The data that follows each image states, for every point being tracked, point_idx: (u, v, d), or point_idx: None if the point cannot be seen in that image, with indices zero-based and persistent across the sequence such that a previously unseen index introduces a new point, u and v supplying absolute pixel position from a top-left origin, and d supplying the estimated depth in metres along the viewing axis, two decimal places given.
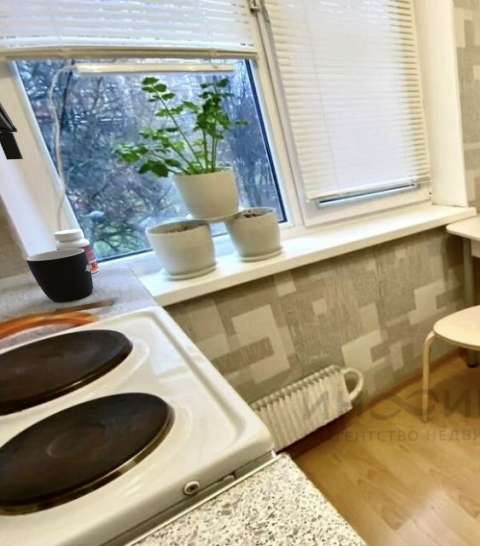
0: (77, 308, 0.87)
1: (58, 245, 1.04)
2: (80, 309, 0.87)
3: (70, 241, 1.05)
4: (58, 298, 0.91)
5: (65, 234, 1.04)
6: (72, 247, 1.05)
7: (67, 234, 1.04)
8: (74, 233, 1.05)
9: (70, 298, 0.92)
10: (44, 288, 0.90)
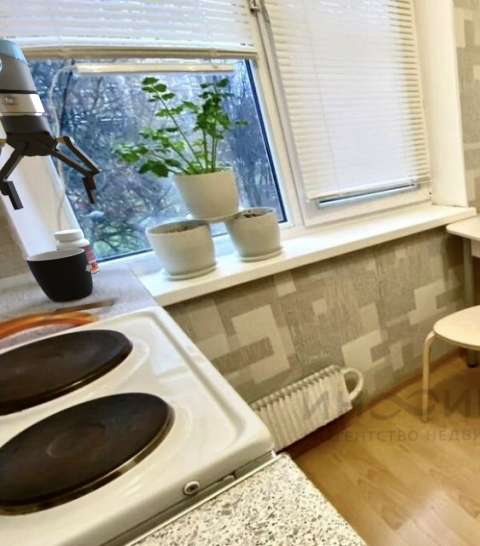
0: (77, 308, 0.87)
1: (58, 245, 1.04)
2: (80, 309, 0.87)
3: (70, 241, 1.05)
4: (58, 298, 0.91)
5: (65, 234, 1.04)
6: (72, 247, 1.05)
7: (67, 234, 1.04)
8: (74, 233, 1.05)
9: (70, 298, 0.92)
10: (44, 288, 0.90)
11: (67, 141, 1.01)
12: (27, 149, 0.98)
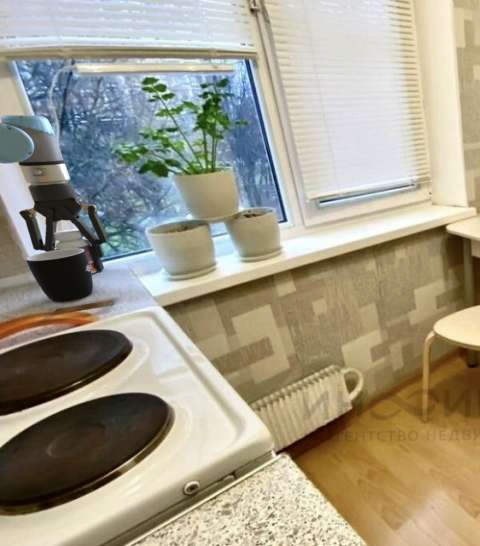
0: (77, 308, 0.87)
1: (58, 245, 1.04)
2: (80, 309, 0.87)
3: (70, 241, 1.05)
4: (58, 298, 0.91)
5: (65, 234, 1.04)
6: (72, 247, 1.05)
7: (67, 234, 1.04)
8: (74, 233, 1.05)
9: (70, 298, 0.92)
10: (44, 288, 0.90)
11: (91, 210, 1.06)
12: (53, 214, 1.03)
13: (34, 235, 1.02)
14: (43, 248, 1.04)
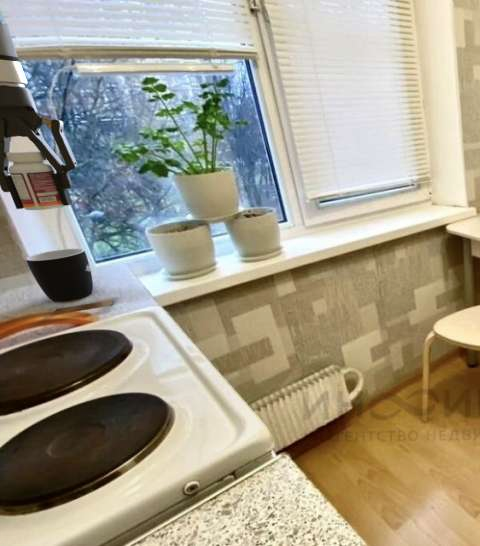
0: (77, 308, 0.87)
1: (12, 168, 0.82)
2: (80, 309, 0.87)
3: (28, 163, 0.83)
4: (58, 298, 0.91)
5: (21, 154, 0.82)
6: (30, 171, 0.83)
7: (23, 154, 0.82)
8: (33, 153, 0.83)
9: (70, 298, 0.92)
10: (44, 288, 0.90)
11: (54, 125, 0.84)
12: (5, 128, 0.81)
13: None
14: None
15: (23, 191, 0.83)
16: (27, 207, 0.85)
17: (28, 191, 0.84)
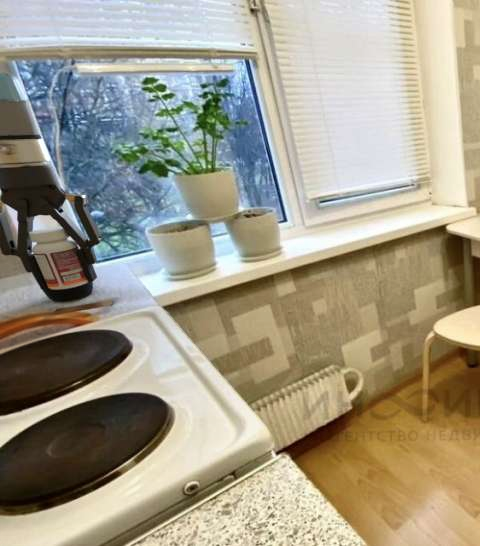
0: (77, 308, 0.87)
1: (35, 248, 0.79)
2: (80, 309, 0.87)
3: (51, 243, 0.79)
4: (58, 298, 0.91)
5: (44, 234, 0.78)
6: (54, 251, 0.79)
7: (47, 234, 0.78)
8: (56, 232, 0.79)
9: (70, 298, 0.92)
10: None
11: (78, 202, 0.80)
12: (28, 208, 0.77)
13: (2, 235, 0.77)
14: (15, 252, 0.78)
15: (46, 272, 0.80)
16: (51, 287, 0.81)
17: (52, 271, 0.80)
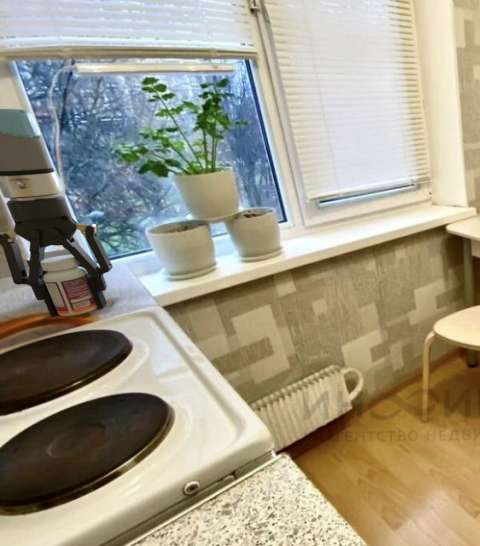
0: None
1: (46, 277, 0.80)
2: None
3: (62, 271, 0.81)
4: None
5: (55, 263, 0.80)
6: (64, 279, 0.81)
7: (58, 263, 0.80)
8: (67, 261, 0.81)
9: None
10: None
11: (89, 231, 0.82)
12: (40, 238, 0.79)
13: (15, 265, 0.78)
14: (26, 282, 0.80)
15: (57, 299, 0.82)
16: (61, 314, 0.83)
17: (62, 298, 0.82)
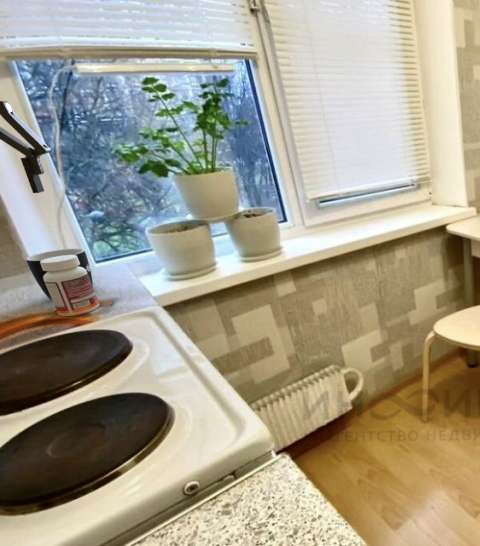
0: None
1: (46, 277, 0.80)
2: None
3: (62, 271, 0.81)
4: None
5: (55, 263, 0.80)
6: (64, 279, 0.81)
7: (58, 263, 0.80)
8: (67, 261, 0.81)
9: None
10: (44, 288, 0.90)
11: (1, 108, 0.75)
12: None
13: None
14: None
15: (57, 299, 0.82)
16: (61, 314, 0.83)
17: (62, 298, 0.82)
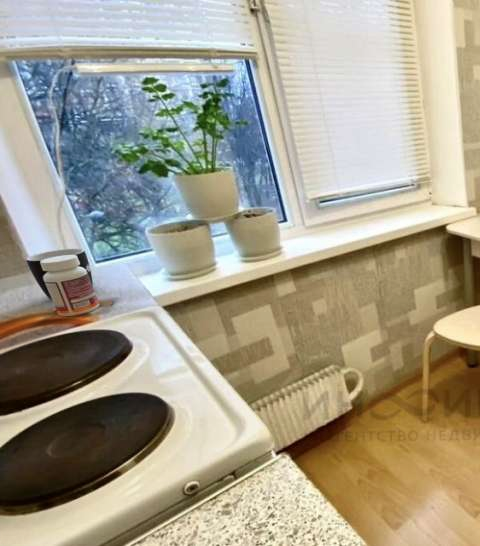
0: None
1: (46, 277, 0.80)
2: None
3: (62, 271, 0.81)
4: None
5: (55, 263, 0.80)
6: (64, 279, 0.81)
7: (58, 263, 0.80)
8: (67, 261, 0.81)
9: None
10: (44, 288, 0.90)
11: None
12: None
13: None
14: None
15: (57, 299, 0.82)
16: (61, 314, 0.83)
17: (62, 298, 0.82)
